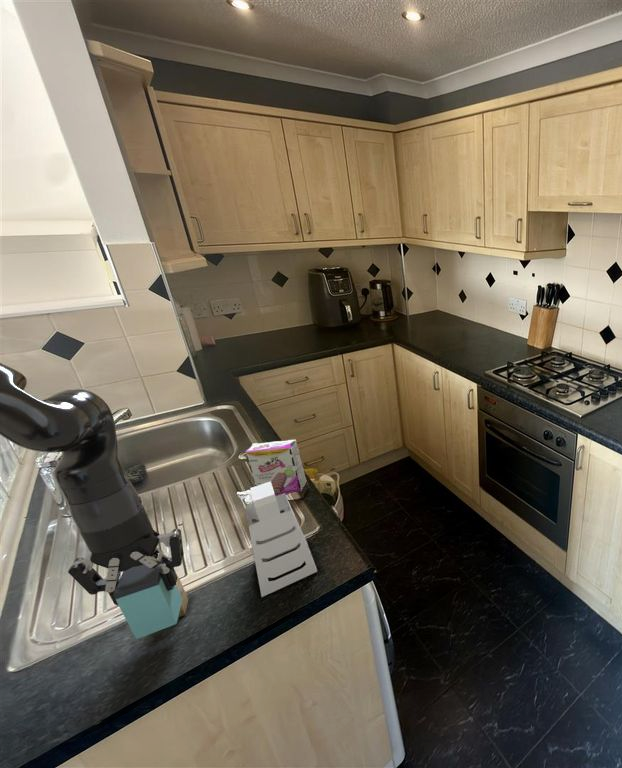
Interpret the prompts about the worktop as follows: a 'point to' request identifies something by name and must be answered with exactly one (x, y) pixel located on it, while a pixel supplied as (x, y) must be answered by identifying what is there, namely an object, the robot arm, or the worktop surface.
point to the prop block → (184, 598)
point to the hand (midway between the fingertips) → (149, 594)
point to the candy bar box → (277, 465)
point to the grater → (276, 540)
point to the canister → (147, 601)
